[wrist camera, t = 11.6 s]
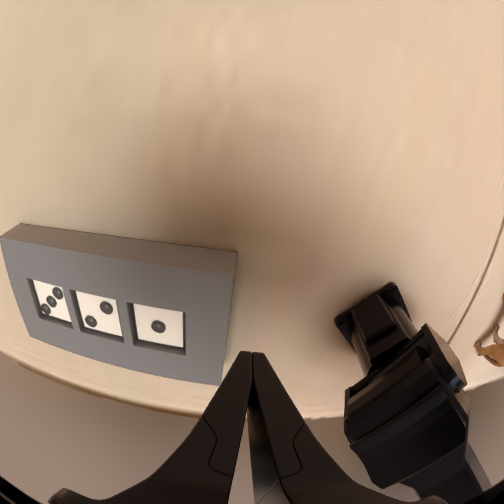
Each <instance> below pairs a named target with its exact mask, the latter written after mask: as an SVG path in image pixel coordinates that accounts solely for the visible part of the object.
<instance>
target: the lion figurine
mask: <svg viewBox="0 0 504 504" xmlns="http://www.w3.org/2000/svg"><path fill="white" fill-rule="evenodd" d="M503 301H504V294H503ZM498 330H499V325H496V326H495V328H494V329H493V341H494V343H496V344H493V345H490V346H487V347H484V348H482V347H481V344H482V342H481V340H478V341H477V342H476V343H475V348H476V349H477V351H478V352H479V353H478V356H481V355H483V356H484V357H485V358H486V359H487V360H488V361H489V362H490V363H491V364H493V365H495V366H497V367H504V340H503V339H501V338H499V336H498V333H497V332H498ZM490 356H491V357H493V358H494V359H495V360H494V359H493V358H491V357H490Z"/></svg>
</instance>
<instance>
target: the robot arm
mask: <svg viewBox="0 0 504 504" xmlns="http://www.w3.org/2000/svg"><path fill="white" fill-rule="evenodd" d="M391 288H393V289H392V290H391ZM339 321H341V322H339ZM335 324H336V326H337V328H338V329H339V330H340V332H341V333H342V334H343V336H344V337H345V338H346V340H347V341H348V342H349V344H350V345H351V347H352V348H353V349H354V351H355V352H356V354H357V356H358V359H359V362H360V364H361V367H362V370H363V372H364V375H365V377H364V378H363V379H362V380H360V381H359V382H358V383H356V384H355V385H354V386H352V387H349V388H348V389H346V390H345V408H344V432H345V435H346V437H347V439H348V441H349V442H350V448H351V449H352V450H353V451H354V452H355V453H356V454H357V455H358V457H359V458H360V459H361V461H362V462H363V464H364V466H365V468H366V470H367V472H368V474H369V477H370V479H371V481H372V482H373V483H374V484H375V485H377V486H378V487H379V488H381V489H385V488H387V487H390V486H392V485H394V484H396V483H398V484H401V485H404V486H406V487H409V488H412V489H413V490H414V491H415V492H416V494H417V496H418V497H419V499H420V500H419V501H416V502H404V501H400V500H397V499H394V498H391V497H388V496H386V495H383V494H381V493H378V492H376V491H373V490H371V489H368V488H366V487H364V486H362V485H360V484H358V483H356V482H355V481H353V480H352V479H351V478H350V477H349V476H348V475H347V474H346V473H345V472H344V471H343V470H342V469H341V468H340V467H339V465H338V464H337V463H336V462H335V461H334V460H333V459H332V458H331V456H330V455H329V454H328V453H327V452H326V451H325V449H324V448H323V447H322V446H321V444H320V443H319V442H318V441H317V439H316V438H315V437H314V435H313V433H312V432H311V430H310V429H309V427H308V426H307V424H306V423H305V421H304V419H303V418H302V416H301V414H300V413H299V411H298V410H297V408H296V406H295V405H294V403H293V401H292V400H291V398H290V397H289V395H288V393H287V392H286V390H285V388H284V387H283V385H282V383H281V382H280V380H279V378H278V376H277V375H276V373H275V371H274V370H273V368H272V366H271V365H270V363H269V361H268V359H267V358H266V356H265V354H264V353H260V352H253V353H251V352H249V351H240V352H239V354H238V356H237V358H236V359H235V361H234V363H233V364H232V366H231V368H230V370H229V371H228V373H227V375H226V376H225V378H224V380H223V381H222V383H221V385H220V386H219V388H218V390H217V391H216V393H215V395H214V396H213V398H212V400H211V401H210V403H209V405H208V406H207V408H206V409H205V411H204V413H203V414H202V417H200V419H199V420H198V422H197V424H196V425H195V427H194V428H193V429H192V431H191V433H190V434H189V435H188V436H187V438H186V439H185V440H184V441H183V443H182V444H181V445H180V446H179V447H178V448H177V449H176V450H175V452H174V453H173V454H172V455H171V456H170V457H169V458H168V459H167V460H166V461H165V462H164V463H163V464H162V466H160V467H159V468H158V470H156V471H155V472H154V473H153V474H152V475H151V476H149V477H148V478H147V479H145V480H143V481H141V482H140V483H138V484H136V485H134V486H132V487H131V488H128V489H126V490H124V491H122V492H120V493H118V494H117V495H114V496H112V497H110V498H107V499H103V500H95V499H91V498H88V497H85V496H83V495H81V494H78V493H76V492H74V491H72V490H69V489H66V488H62V489H61V490H59V491H58V492H57V493H55V494H54V495H53V496H51V498H50V499H49V500H48V503H50V504H228V500H229V495H230V490H231V485H232V480H233V476H234V471H235V466H236V462H237V457H238V451H239V447H240V441H241V437H242V432H243V427H244V422H245V417H246V412H247V422H248V434H249V445H250V458H251V469H252V480H253V491H254V501H255V504H504V479H502V480H501V481H500V482H498V483H497V484H495V485H494V486H491V483H490V481H489V479H488V477H487V475H486V473H485V472H484V470H483V468H482V466H481V464H480V462H479V460H478V458H477V457H476V455H475V454H474V451H473V449H472V448H471V446H470V444H469V442H468V436H469V423H470V401H469V399H468V397H467V395H466V394H465V392H464V390H463V388H464V387H465V386H466V385H467V381H466V378H465V375H464V372H463V370H462V367H461V364H460V361H459V359H458V358H457V356H456V355H455V354H454V352H453V351H452V349H451V348H450V347H449V345H448V344H447V343H446V341H445V340H444V339H442V338H441V337H440V336H439V335H438V334H437V333H436V332H435V331H434V330H433V329H432V328H431V327H430V326H429V325H428V324H427V323H425V324H424V325H423V326H422V327H421V330H420V331H419V332H418V331H417V330H416V328H415V327H414V325H413V324H412V321H411V318H410V316H409V313H408V311H407V308H406V306H405V304H404V301H403V299H402V296H401V294H400V292H399V290H398V287H397V286H396V284H395V283H390V284H388V285H387V286H385V287H384V288H382V289H381V290H379V291H378V292H376V293H375V294H373V295H372V296H370V297H369V298H367V299H365V300H364V301H362V302H361V303H359V304H357V305H356V306H354V307H353V308H351V309H349V310H348V311H346V312H344V313H343V314H341V315H339V316H338V317H336V318H335ZM0 504H42V503H40V502H39V501H37V500H35V499H33V498H32V497H31V496H29V495H27V494H26V493H24V492H23V491H21V490H20V489H19V488H17V487H15V486H14V485H13V484H11V483H10V482H8V481H7V480H6V479H4V478H3V477H2V476H0Z"/></svg>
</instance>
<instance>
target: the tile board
mask: <svg viewBox="0 0 504 504" xmlns="http://www.w3.org/2000/svg"><path fill="white" fill-rule="evenodd" d="M0 244H1V249H2V253H3V257H4V261H5V265H6V269H7V272H8V276H9V279H10V283H11V286H12V289H13V292H14V295H15V298H16V301H17V304H18V307H19V310H20V312H21V315H22V318H23V320H24V323H25V325H26V328H27V330H28V332H29V335H30V336H31V337H33V338H35V339H38V340H40V341H43V342H45V343H48V344H50V345H53V346H56V347H58V348H61V349H64V350H67V351H69V352H72V353H75V354H78V355H81V356H84V357H87V358H91V359H94V360H97V361H101V362H104V363H107V364H111V365H115V366H118V367H122V368H126V369H130V370H134V371H138V372H143V373H147V374H152V375H156V376H161V377H166V378H171V379H177V380H182V381H188V382H195V383H201V384H208V385H216V386H220V385H221V381H222V372H223V364H224V355H225V347H226V338H227V330H228V322H229V314H230V306H231V298H232V290H233V282H234V274H235V266H236V258H237V252H231V251H223V250H215V249H208V248H200V247H193V246H185V245H177V244H170V243H162V242H155V241H147V240H140V239H132V238H125V237H117V236H110V235H102V234H95V233H87V232H80V231H72V230H65V229H58V228H50V227H43V226H35V225H28V224H21V223H20V224H19V225H17V226H15V227H14V228H12V229H11V230H9V231H8V232H6V233H4V234H3V235H1V236H0ZM33 280H36V281H40V282H43V283H47V284H51V285H55V286H58V287H62V289H63V294H64V297H65V301H66V305H67V309H68V312H69V316H70V319H71V322H69V321H66V320H63V319H60V318H57V317H54V316H50V315H47V314H45V313H43V311H42V309H41V305H40V302H39V299H38V295H37V292H36V289H35V285H34V281H33ZM76 291H78V292H83V293H87V294H91V295H96V296H100V297H105V298H109V299H114V300H117V305H118V311H119V316H120V322H121V327H122V332H123V336H119V335H115V334H111V333H107V332H103V331H99V330H95V329H91V328H88V327H85V325H84V322H83V318H82V315H81V311H80V307H79V303H78V299H77V294H76ZM133 303H134V304H139V305H144V306H150V307H155V308H161V309H167V310H173V311H179V312H185V313H186V339H185V342H184V346H183V347H178V346H172V345H167V344H161V343H156V342H151V341H146V340H141V339H138V333H137V326H136V319H135V312H134V304H133Z"/></svg>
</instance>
